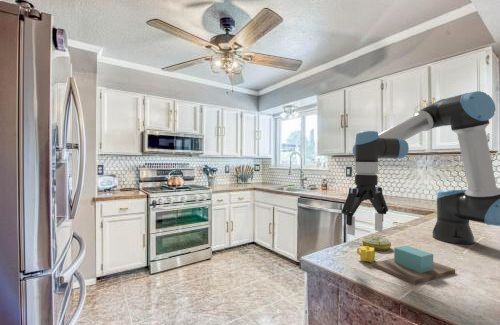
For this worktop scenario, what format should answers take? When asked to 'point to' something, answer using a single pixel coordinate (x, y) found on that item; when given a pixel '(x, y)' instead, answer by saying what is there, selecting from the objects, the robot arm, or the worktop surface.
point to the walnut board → (413, 271)
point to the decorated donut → (377, 243)
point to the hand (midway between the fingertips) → (365, 232)
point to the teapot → (366, 254)
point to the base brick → (413, 258)
